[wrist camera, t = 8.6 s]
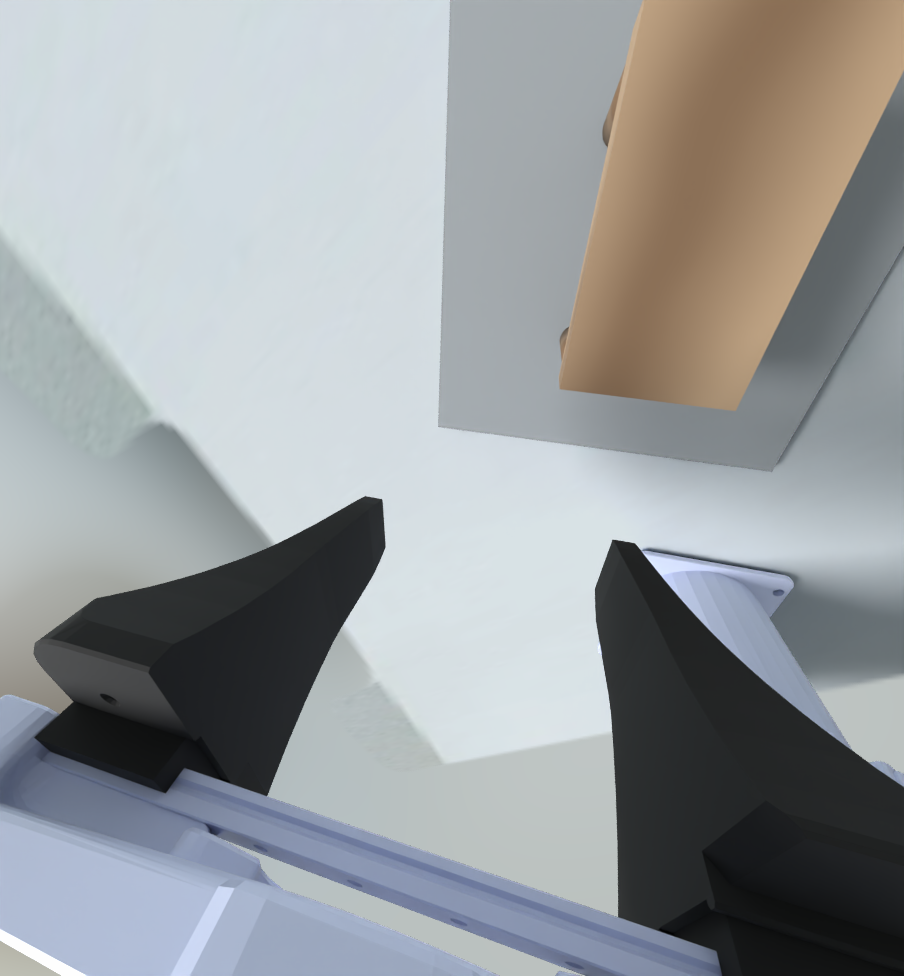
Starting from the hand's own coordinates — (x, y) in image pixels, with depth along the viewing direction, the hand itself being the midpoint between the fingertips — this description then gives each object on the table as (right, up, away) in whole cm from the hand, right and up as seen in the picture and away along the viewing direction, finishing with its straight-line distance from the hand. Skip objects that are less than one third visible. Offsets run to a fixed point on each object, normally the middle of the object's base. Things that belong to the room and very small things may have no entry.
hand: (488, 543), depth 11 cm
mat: (+6, +11, +3) cm, 13 cm away
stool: (+6, +11, +2) cm, 13 cm away
